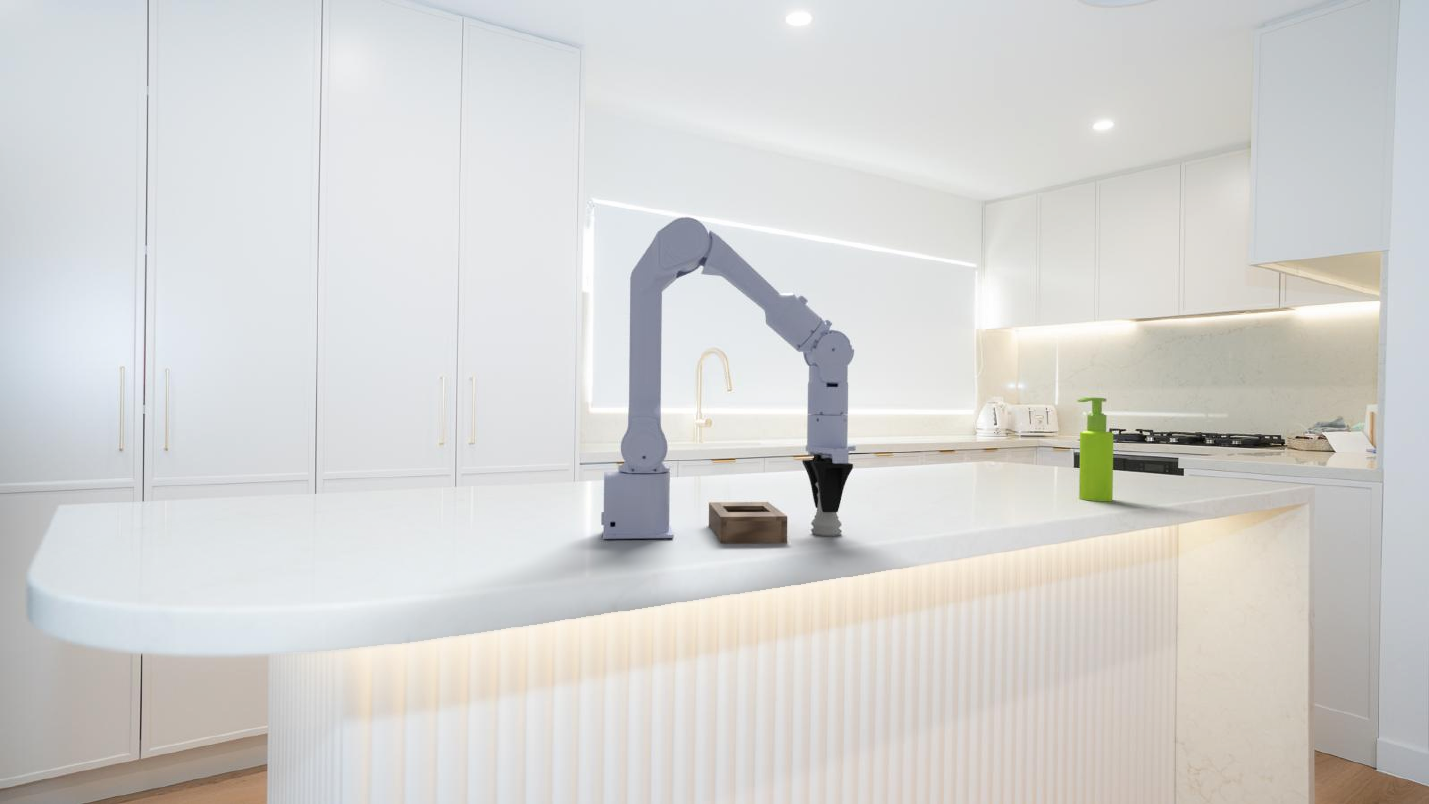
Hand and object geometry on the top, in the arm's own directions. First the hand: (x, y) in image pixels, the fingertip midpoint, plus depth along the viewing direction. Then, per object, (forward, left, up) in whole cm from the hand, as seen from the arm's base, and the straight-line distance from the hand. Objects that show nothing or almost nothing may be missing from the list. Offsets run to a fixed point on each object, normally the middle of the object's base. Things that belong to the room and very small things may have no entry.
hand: (826, 510), depth 111 cm
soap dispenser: (+63, +34, -4) cm, 72 cm away
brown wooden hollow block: (-12, +1, -3) cm, 12 cm away
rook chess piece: (0, 0, -4) cm, 4 cm away
